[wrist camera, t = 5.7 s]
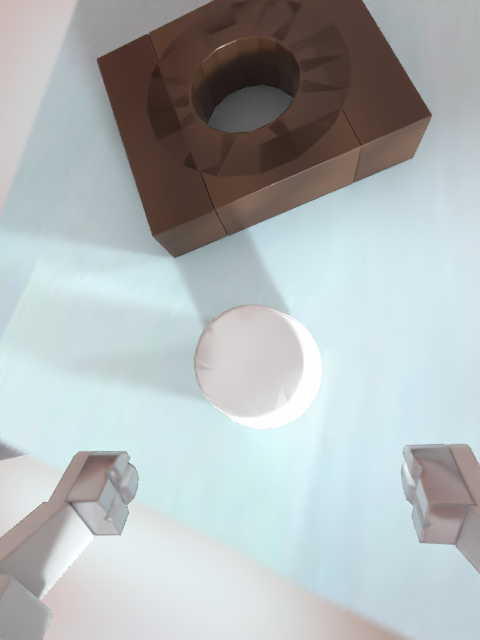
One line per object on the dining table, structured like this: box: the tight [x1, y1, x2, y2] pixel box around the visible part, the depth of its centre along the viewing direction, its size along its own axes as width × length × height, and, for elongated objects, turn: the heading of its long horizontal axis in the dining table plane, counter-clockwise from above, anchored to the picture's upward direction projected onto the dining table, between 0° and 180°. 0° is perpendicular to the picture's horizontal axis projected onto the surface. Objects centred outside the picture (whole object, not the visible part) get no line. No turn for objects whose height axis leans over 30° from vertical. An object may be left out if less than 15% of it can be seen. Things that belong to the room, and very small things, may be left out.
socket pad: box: [97, 0, 432, 258], centre depth 19 cm, size 14×12×3 cm
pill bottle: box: [194, 305, 321, 428], centre depth 14 cm, size 4×4×8 cm
